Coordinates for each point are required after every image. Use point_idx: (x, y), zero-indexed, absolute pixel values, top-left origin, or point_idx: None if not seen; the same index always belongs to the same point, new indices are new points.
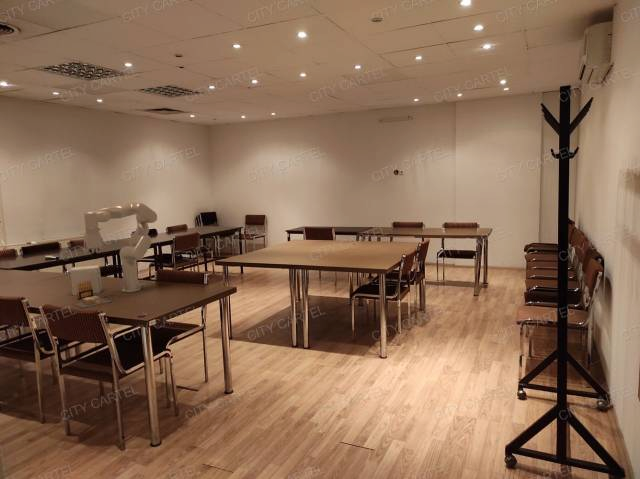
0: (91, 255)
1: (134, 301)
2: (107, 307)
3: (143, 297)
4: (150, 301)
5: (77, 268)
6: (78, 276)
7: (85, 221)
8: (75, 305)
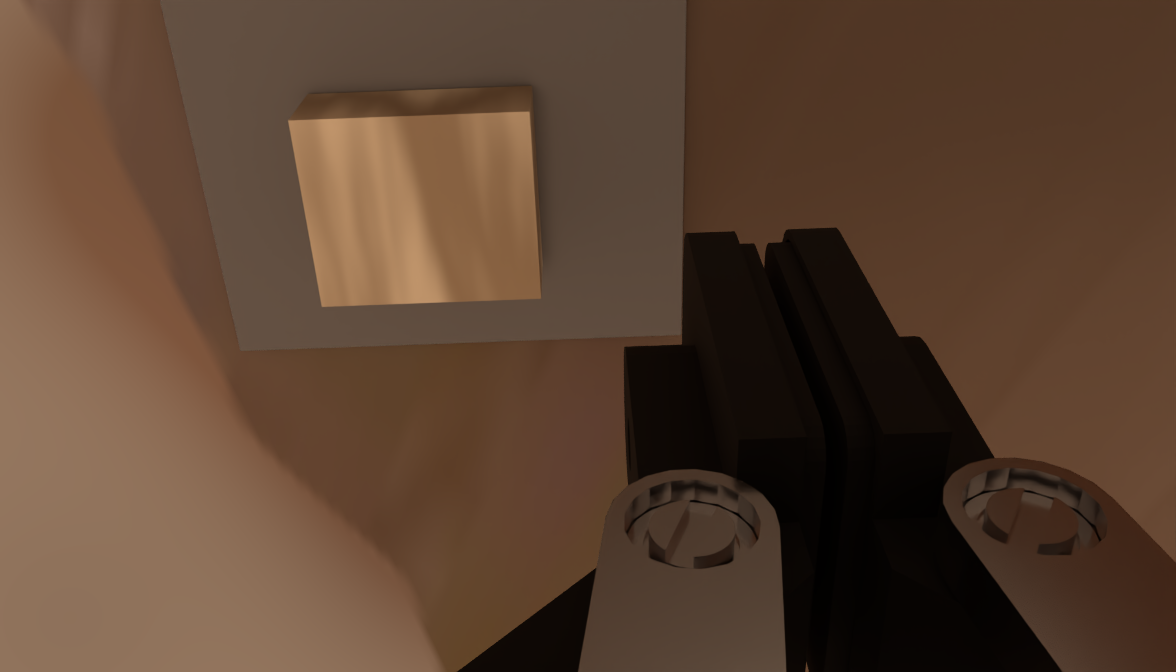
0: (633, 410)
1: None
2: (506, 538)
3: (1094, 426)
4: None
5: None
6: None
7: None
8: (184, 88)
